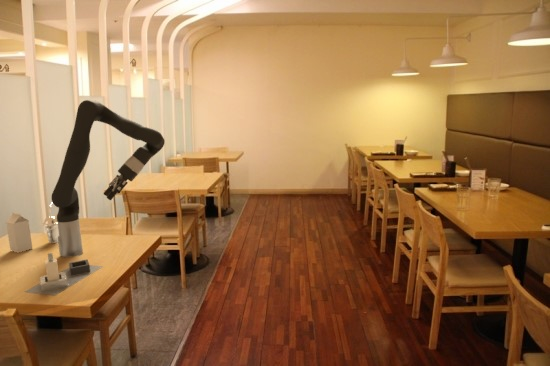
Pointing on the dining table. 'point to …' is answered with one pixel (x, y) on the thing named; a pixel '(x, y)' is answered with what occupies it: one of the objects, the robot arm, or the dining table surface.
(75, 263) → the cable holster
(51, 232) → the cup with straw
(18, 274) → the dining table surface
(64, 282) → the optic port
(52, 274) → the plug
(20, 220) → the milk carton
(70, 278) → the port board
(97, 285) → the dining table surface
